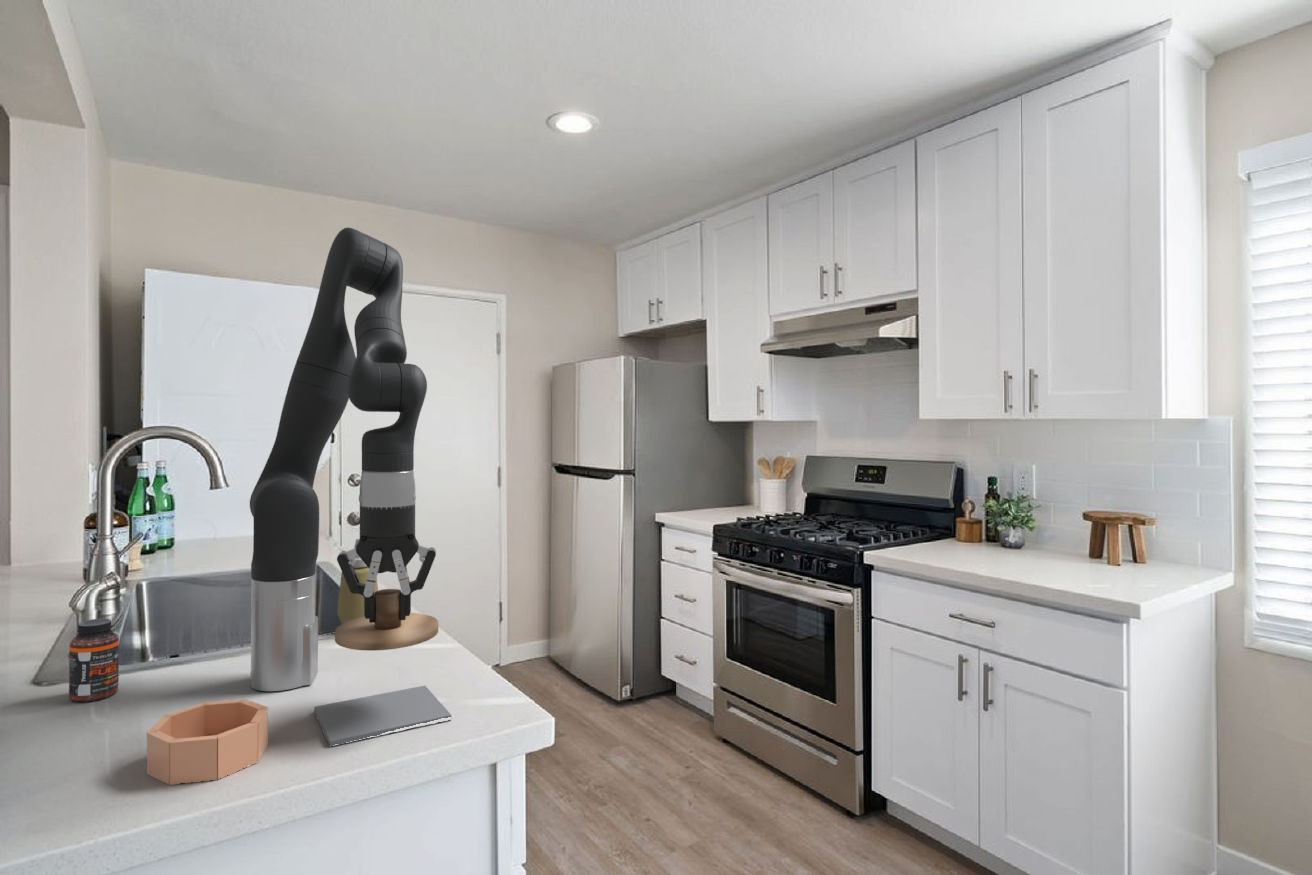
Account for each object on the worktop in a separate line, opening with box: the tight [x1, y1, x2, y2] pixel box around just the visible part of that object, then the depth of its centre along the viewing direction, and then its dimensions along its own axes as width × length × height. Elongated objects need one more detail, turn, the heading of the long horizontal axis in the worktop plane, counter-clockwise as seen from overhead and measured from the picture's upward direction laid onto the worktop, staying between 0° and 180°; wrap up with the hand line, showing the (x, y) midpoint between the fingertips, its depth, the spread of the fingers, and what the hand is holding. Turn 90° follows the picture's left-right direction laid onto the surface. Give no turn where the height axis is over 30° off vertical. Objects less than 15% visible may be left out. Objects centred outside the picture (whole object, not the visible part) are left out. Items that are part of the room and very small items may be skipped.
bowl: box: [146, 698, 269, 786], centre depth 90 cm, size 12×12×5 cm
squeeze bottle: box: [336, 538, 379, 625], centre depth 145 cm, size 8×8×18 cm
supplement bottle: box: [68, 618, 120, 703], centre depth 109 cm, size 6×6×11 cm
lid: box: [334, 588, 439, 651], centre depth 104 cm, size 14×14×6 cm
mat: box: [313, 685, 452, 747], centre depth 104 cm, size 16×13×1 cm
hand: (387, 619), depth 104 cm, fingers closed on lid, 3 cm apart
